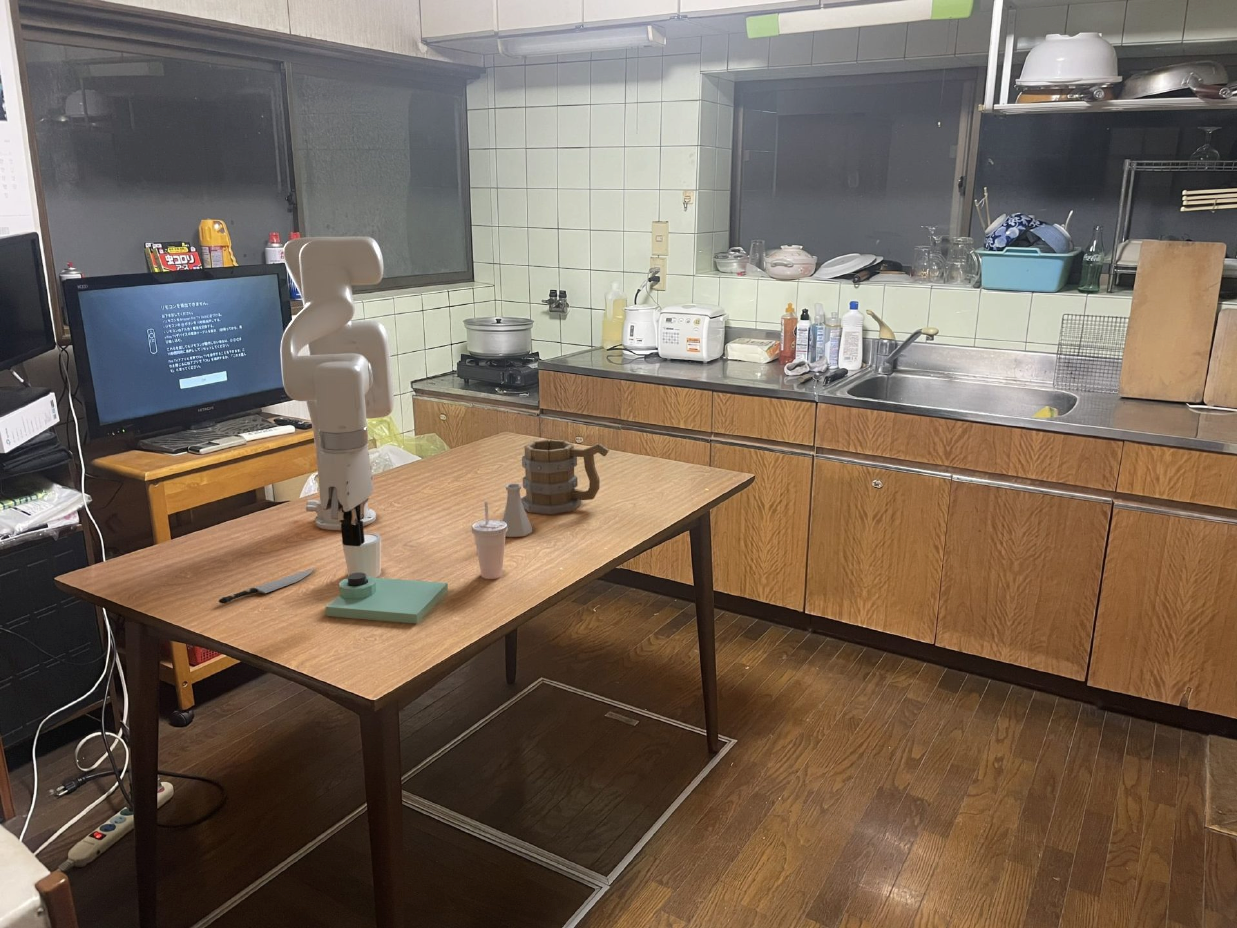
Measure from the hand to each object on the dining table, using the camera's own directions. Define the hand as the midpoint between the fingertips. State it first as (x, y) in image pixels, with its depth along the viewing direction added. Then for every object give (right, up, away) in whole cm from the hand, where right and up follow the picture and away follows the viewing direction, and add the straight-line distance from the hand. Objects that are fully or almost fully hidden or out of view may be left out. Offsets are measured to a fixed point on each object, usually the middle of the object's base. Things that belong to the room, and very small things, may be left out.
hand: (353, 543), depth 153 cm
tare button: (0, -7, +1) cm, 7 cm away
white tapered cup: (-2, -7, +14) cm, 15 cm away
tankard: (+33, +4, +51) cm, 61 cm away
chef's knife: (-17, -9, +8) cm, 20 cm away
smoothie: (+21, -7, +13) cm, 26 cm away
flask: (+23, -1, +35) cm, 42 cm away
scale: (+6, -10, +1) cm, 12 cm away
